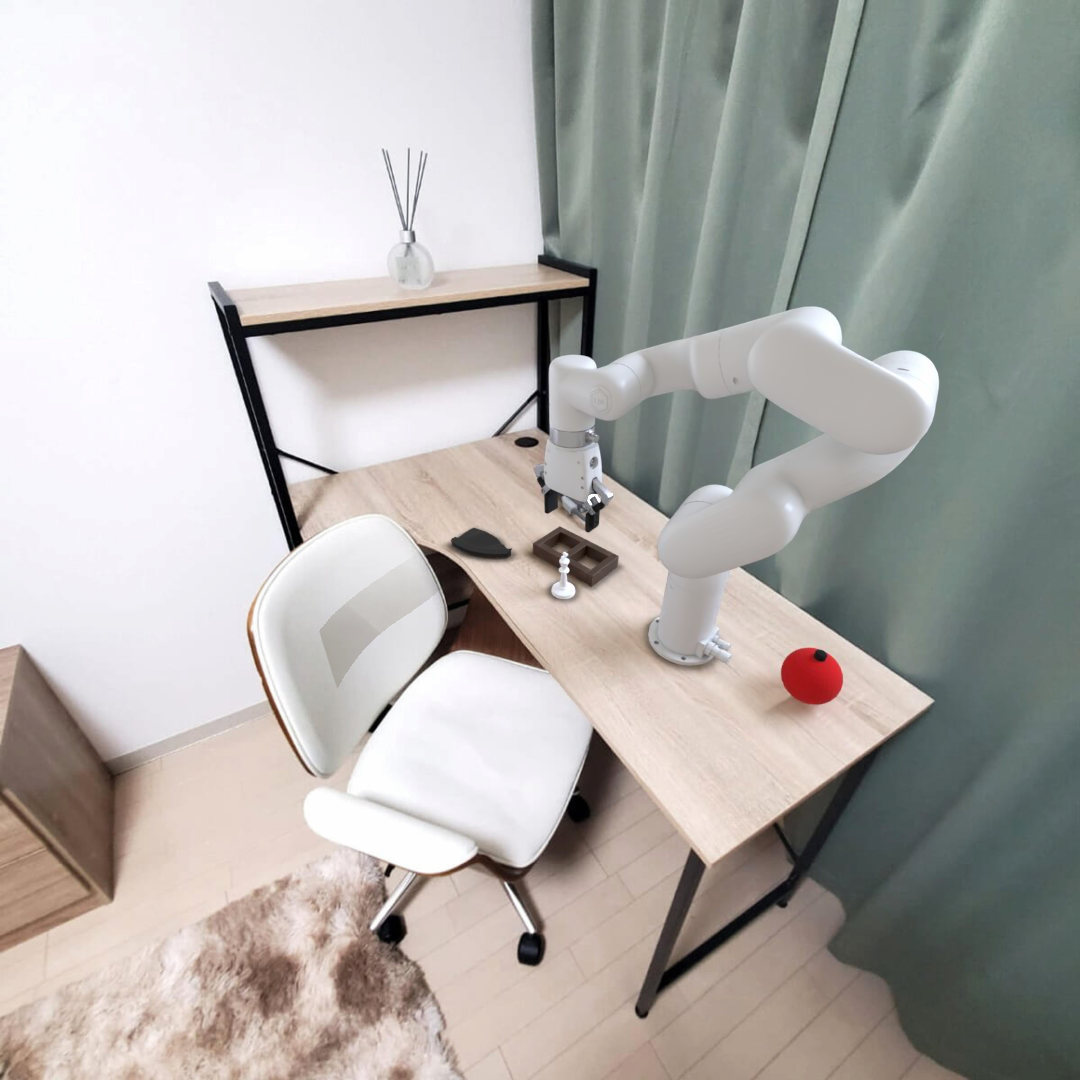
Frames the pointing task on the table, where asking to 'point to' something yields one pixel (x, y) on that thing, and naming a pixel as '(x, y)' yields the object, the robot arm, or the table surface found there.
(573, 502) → the walkie-talkie
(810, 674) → the ornament
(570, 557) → the rack
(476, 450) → the table surface
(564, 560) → the chess piece
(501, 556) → the curved wedge
